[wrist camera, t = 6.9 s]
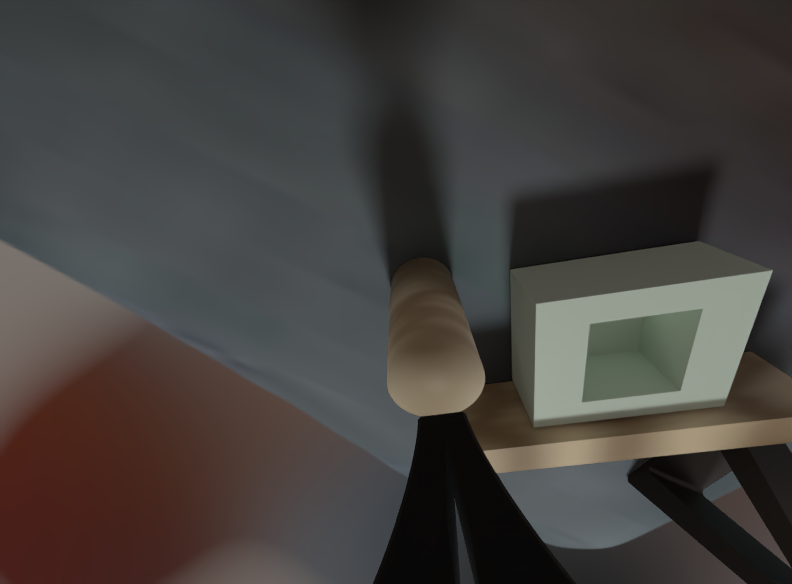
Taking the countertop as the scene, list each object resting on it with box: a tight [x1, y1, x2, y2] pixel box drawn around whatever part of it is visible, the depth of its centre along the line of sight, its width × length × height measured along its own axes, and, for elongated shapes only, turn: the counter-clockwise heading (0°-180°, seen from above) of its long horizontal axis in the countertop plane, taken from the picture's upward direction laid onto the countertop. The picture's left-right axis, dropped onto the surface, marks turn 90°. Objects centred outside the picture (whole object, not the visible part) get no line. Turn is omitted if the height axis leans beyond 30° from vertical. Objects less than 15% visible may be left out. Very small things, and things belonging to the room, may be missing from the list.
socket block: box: [510, 241, 773, 428], centre depth 18 cm, size 10×8×4 cm
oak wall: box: [460, 351, 792, 473], centre depth 20 cm, size 20×2×5 cm, turn 100°
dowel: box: [387, 257, 485, 416], centre depth 16 cm, size 4×4×8 cm
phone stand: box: [628, 443, 792, 584], centre depth 21 cm, size 9×6×12 cm, turn 151°
